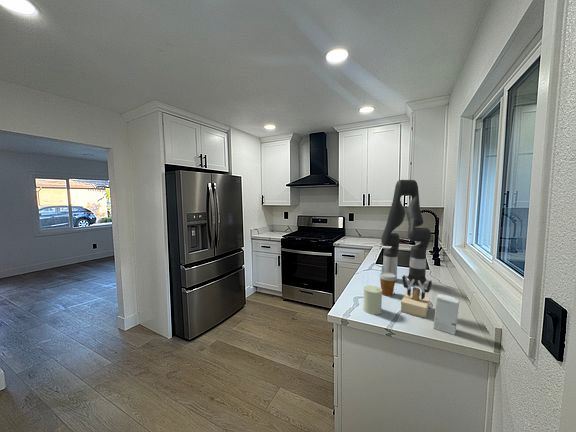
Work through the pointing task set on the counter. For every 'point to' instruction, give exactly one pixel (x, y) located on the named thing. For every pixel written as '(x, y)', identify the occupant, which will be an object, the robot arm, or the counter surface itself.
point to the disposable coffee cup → (387, 283)
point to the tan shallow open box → (414, 310)
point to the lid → (415, 299)
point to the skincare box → (446, 313)
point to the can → (372, 299)
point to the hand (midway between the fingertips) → (415, 297)
